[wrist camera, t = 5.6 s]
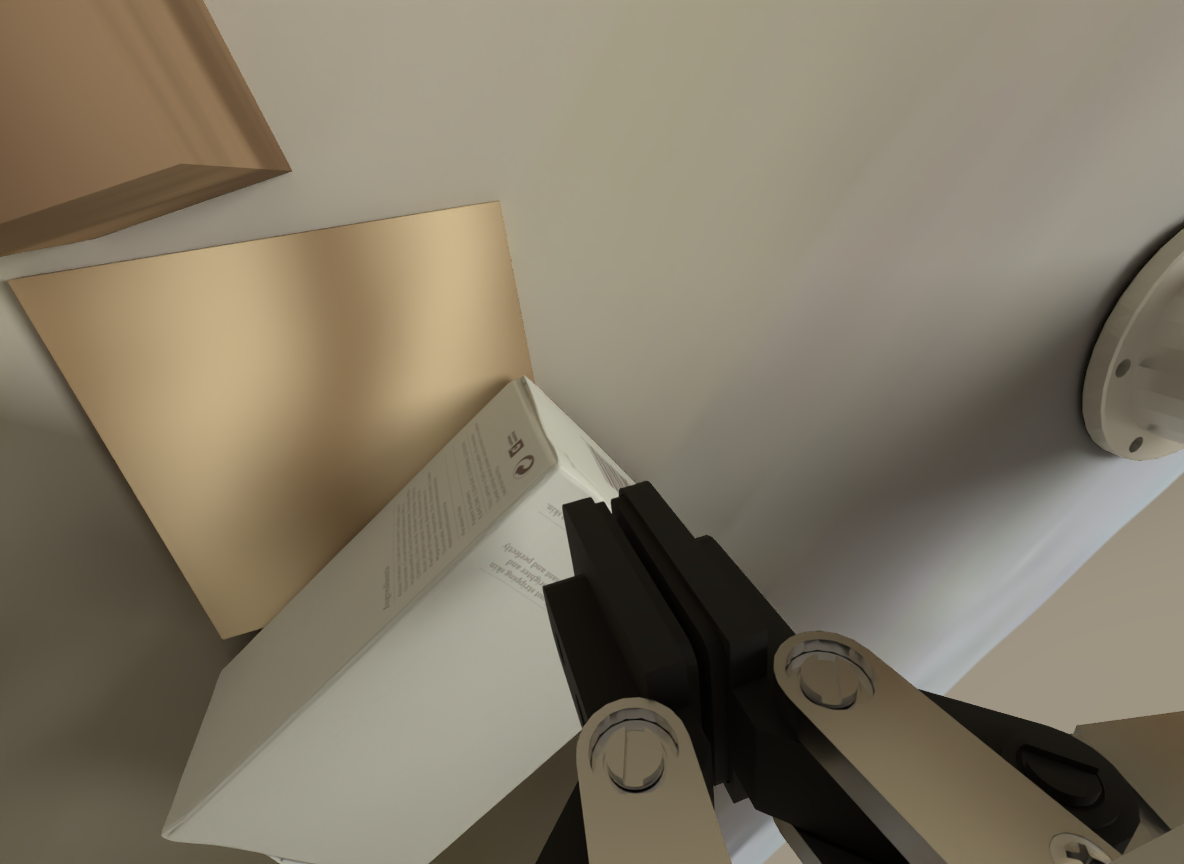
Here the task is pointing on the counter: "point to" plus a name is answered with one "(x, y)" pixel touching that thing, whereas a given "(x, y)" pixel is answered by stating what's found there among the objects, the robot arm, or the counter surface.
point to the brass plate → (284, 384)
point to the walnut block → (119, 118)
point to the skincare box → (407, 661)
